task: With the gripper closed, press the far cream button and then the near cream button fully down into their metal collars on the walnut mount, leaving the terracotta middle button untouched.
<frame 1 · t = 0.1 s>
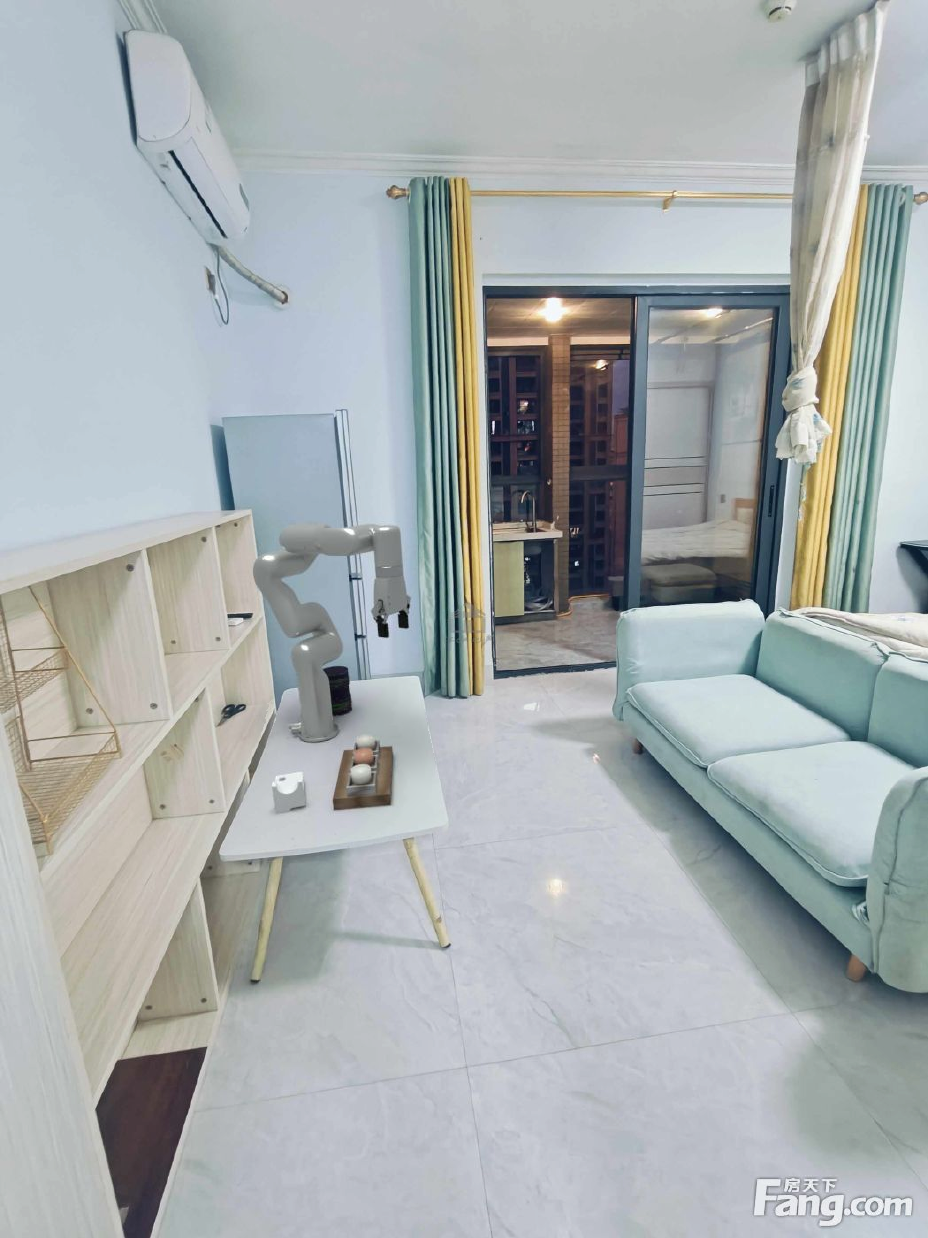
hand: (394, 632, 160), 37 cm above the table, tool pointing down, fingers open, 9 cm apart
far button: (366, 742, 162), point 7 cm above the table, slide at 0.0 cm
near button: (361, 774, 145), point 7 cm above the table, slide at 0.0 cm
middle button: (363, 757, 154), point 7 cm above the table, slide at 0.0 cm
bracket: (290, 798, 149), on the table
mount: (365, 780, 156), on the table
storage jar: (338, 711, 203), on the table
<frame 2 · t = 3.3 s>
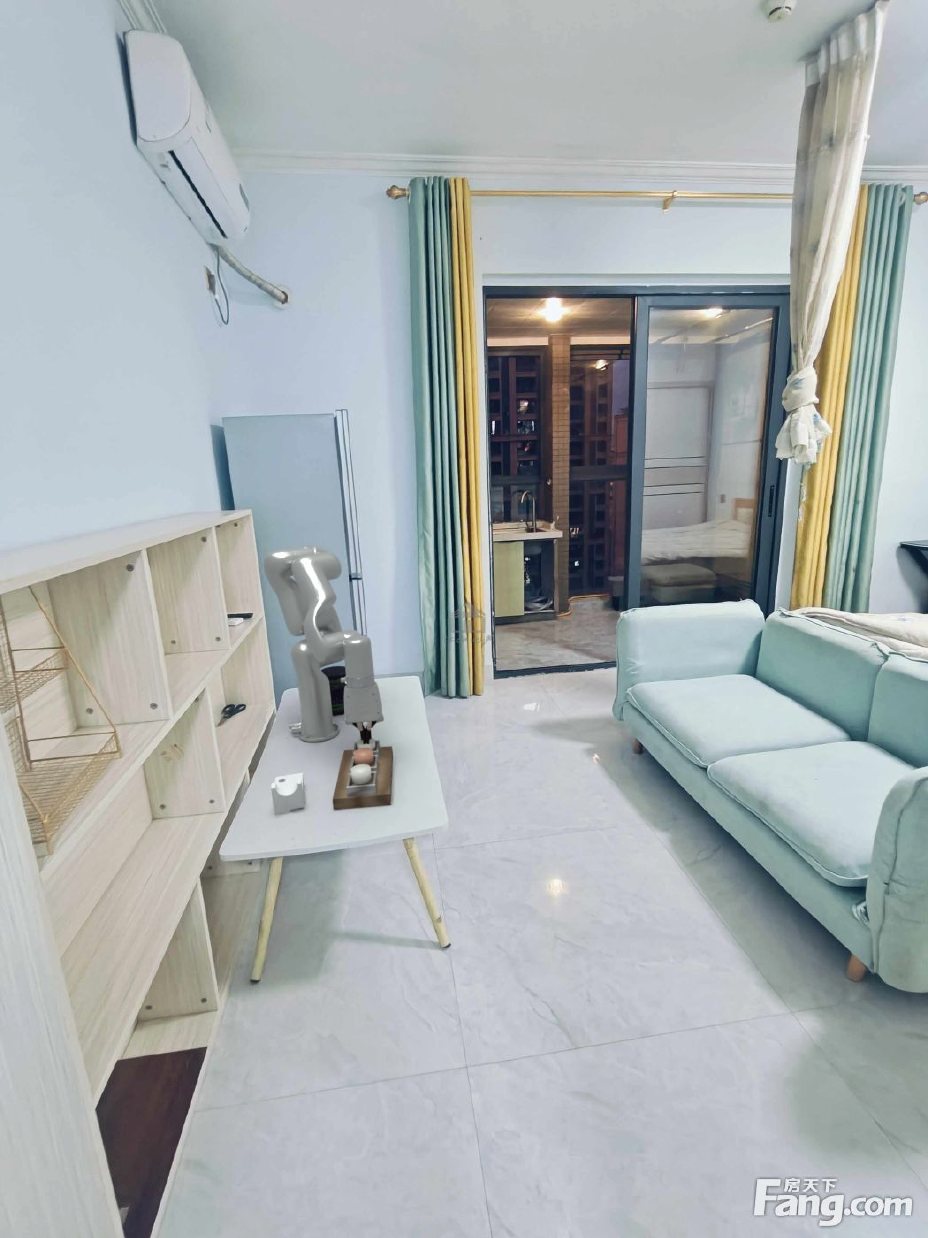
hand: (366, 741, 162), 7 cm above the table, tool pointing down, fingers closed
far button: (366, 746, 163), point 6 cm above the table, slide at 1.4 cm, touching gripper
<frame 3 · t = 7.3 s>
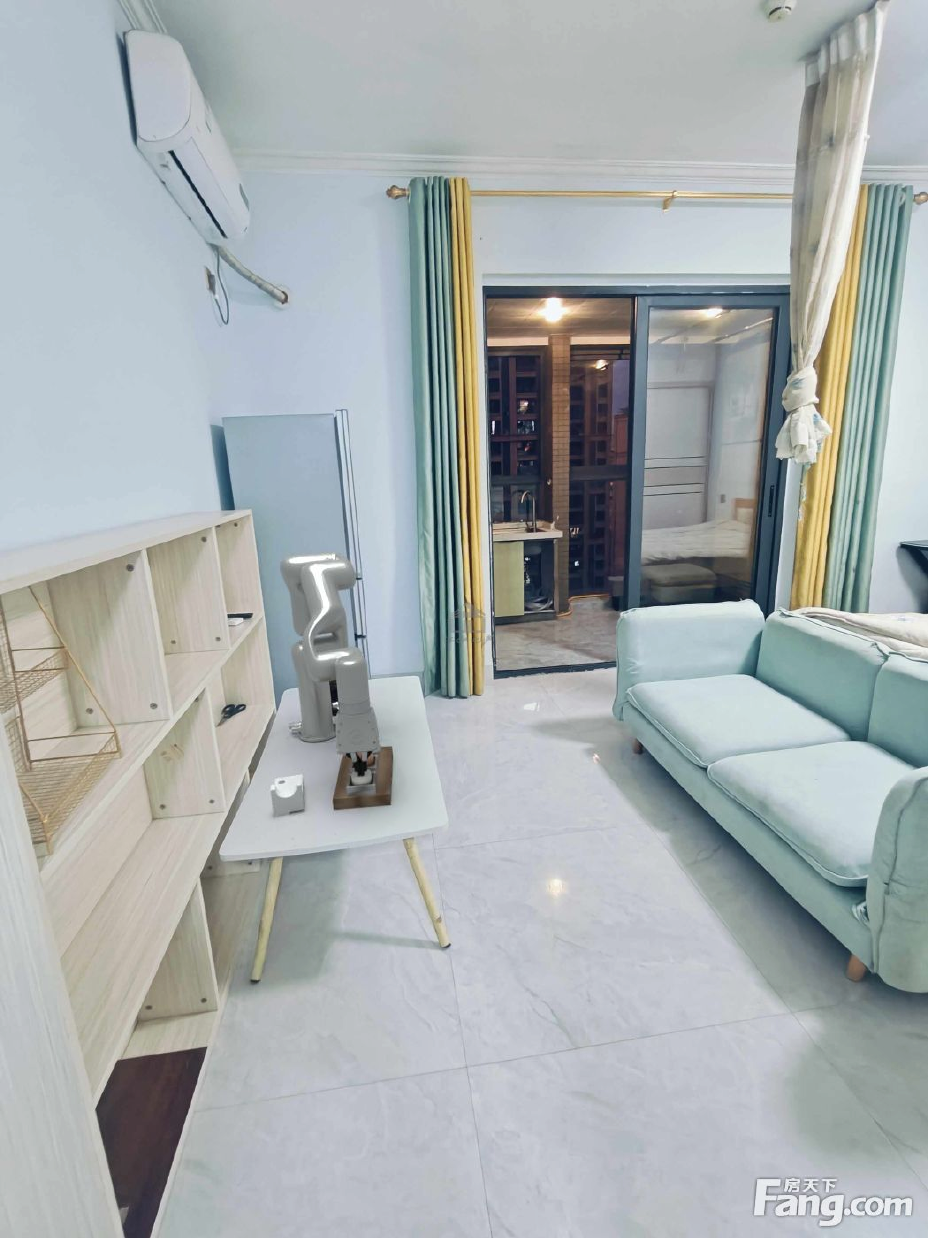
hand: (361, 773, 145), 7 cm above the table, tool pointing down, fingers closed
far button: (366, 749, 163), point 5 cm above the table, slide at 2.2 cm
near button: (361, 778, 145), point 6 cm above the table, slide at 1.3 cm, touching gripper
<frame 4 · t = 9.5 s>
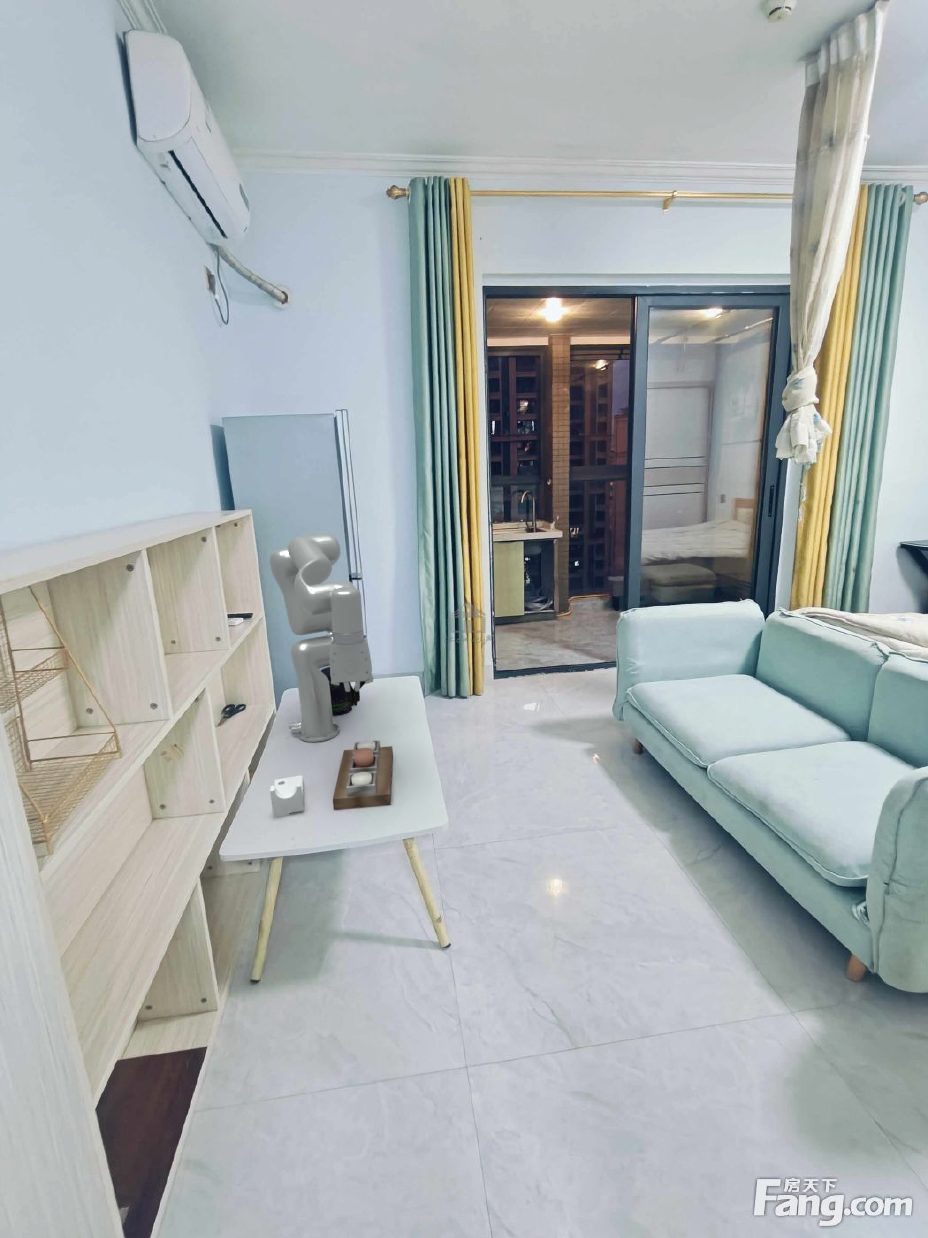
hand: (354, 703, 149), 23 cm above the table, tool pointing down, fingers closed
near button: (361, 782, 146), point 5 cm above the table, slide at 2.2 cm
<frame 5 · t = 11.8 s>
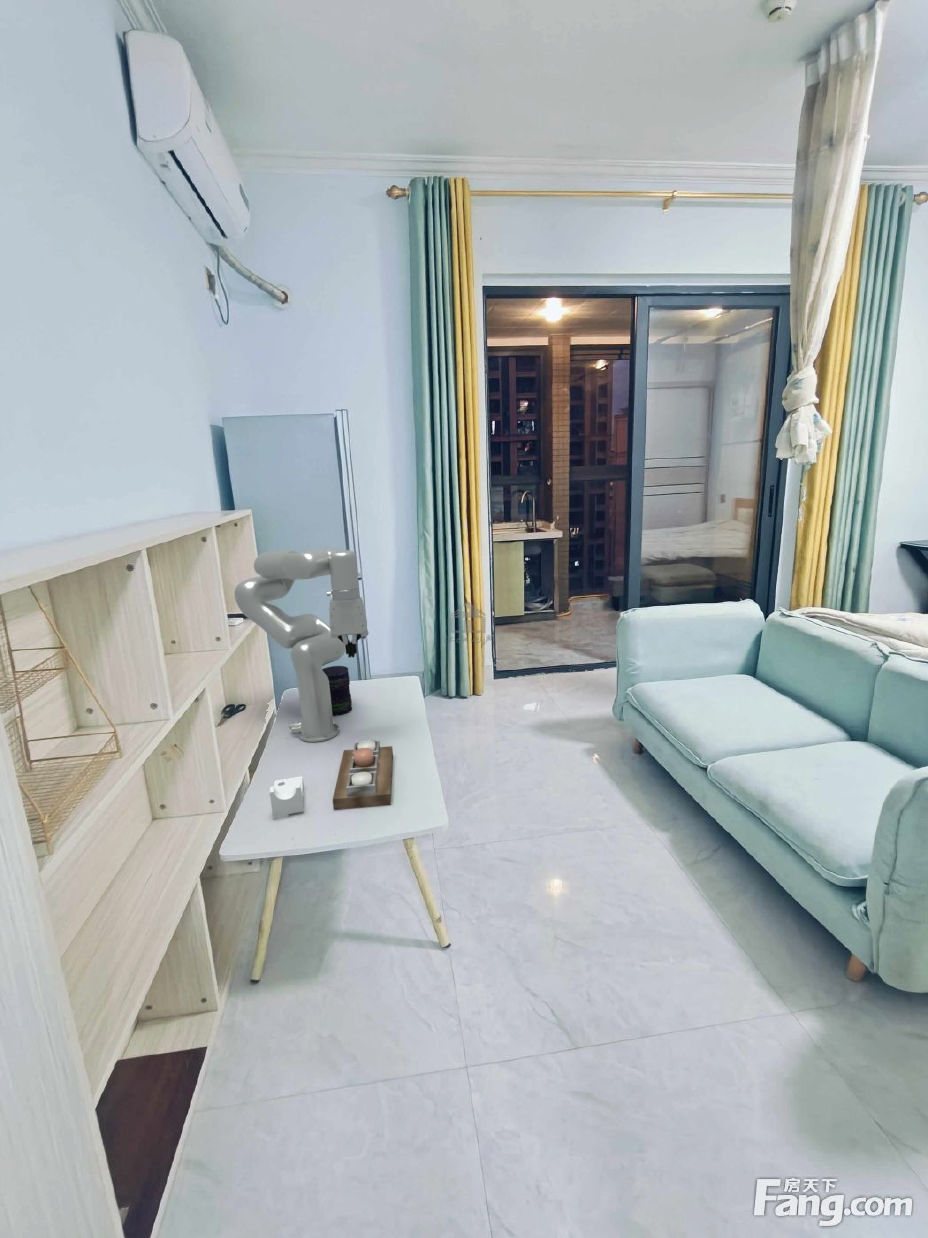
hand: (351, 656, 167), 29 cm above the table, tool pointing down, fingers closed
at the end: far button slide at 2.2 cm; near button slide at 2.2 cm; middle button slide at 0.0 cm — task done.
